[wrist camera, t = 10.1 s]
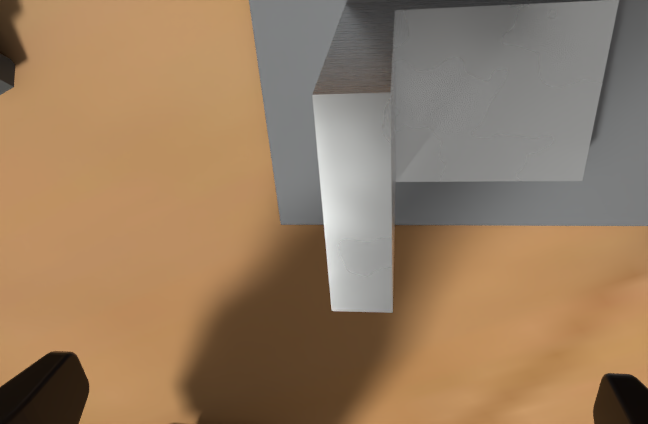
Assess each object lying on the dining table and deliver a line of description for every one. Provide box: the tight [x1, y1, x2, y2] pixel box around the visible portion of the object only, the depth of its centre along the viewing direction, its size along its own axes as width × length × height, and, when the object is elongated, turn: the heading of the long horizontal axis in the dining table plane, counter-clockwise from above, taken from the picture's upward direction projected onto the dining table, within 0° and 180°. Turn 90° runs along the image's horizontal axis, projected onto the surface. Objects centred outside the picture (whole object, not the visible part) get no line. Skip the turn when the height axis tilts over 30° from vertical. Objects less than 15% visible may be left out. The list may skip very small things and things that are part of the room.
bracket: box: [312, 0, 619, 313], centre depth 16 cm, size 8×6×8 cm
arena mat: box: [249, 0, 648, 226], centre depth 19 cm, size 12×15×1 cm
